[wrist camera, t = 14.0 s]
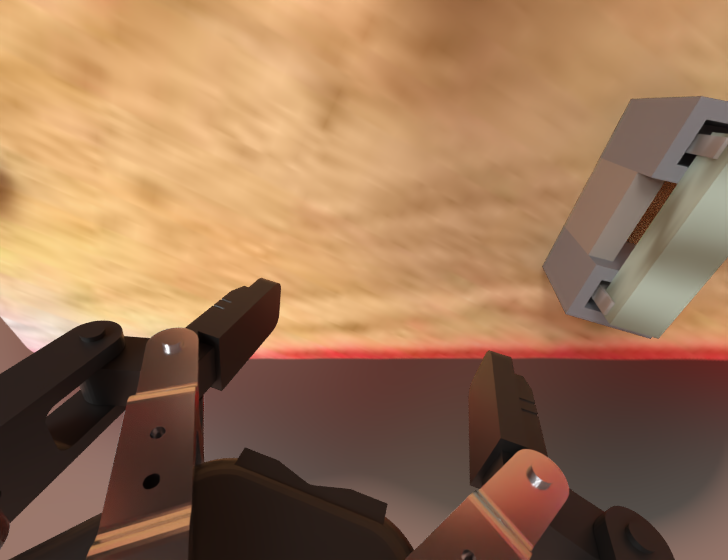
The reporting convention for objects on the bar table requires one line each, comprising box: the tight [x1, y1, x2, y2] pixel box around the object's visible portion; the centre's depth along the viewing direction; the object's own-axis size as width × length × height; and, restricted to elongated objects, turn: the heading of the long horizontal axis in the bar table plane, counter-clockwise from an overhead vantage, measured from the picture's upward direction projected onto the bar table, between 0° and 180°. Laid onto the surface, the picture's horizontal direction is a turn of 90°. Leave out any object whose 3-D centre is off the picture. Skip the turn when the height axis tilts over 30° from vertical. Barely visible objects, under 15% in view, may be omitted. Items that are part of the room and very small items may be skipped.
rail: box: [591, 132, 728, 339], centre depth 24 cm, size 14×4×6 cm, turn 169°
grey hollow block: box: [542, 96, 728, 339], centre depth 28 cm, size 17×7×10 cm, turn 169°
